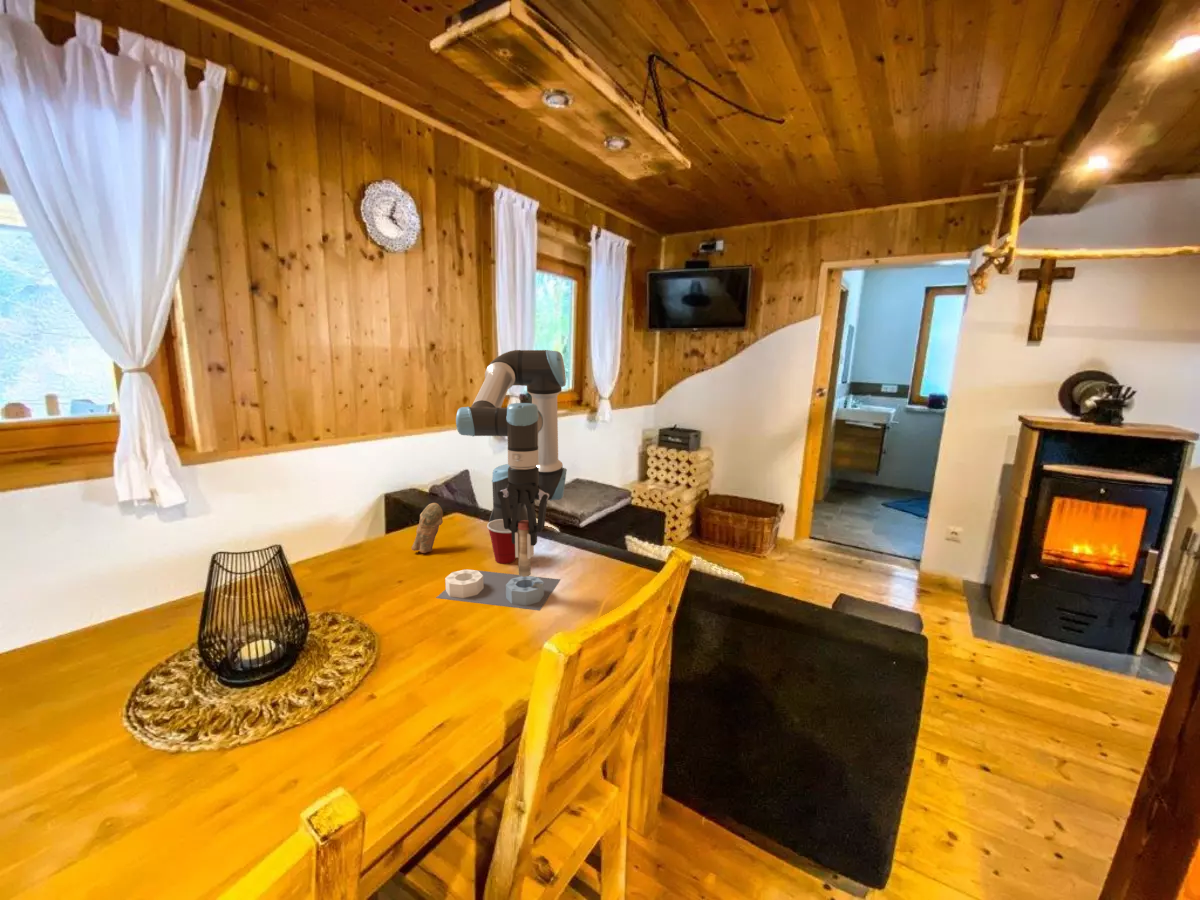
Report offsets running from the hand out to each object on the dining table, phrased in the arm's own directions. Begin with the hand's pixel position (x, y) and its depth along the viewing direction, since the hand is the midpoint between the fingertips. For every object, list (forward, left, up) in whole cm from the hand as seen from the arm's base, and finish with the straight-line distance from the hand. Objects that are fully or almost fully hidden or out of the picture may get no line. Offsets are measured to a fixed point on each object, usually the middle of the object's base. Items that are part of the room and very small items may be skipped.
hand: (524, 555), depth 127 cm
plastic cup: (-21, -14, -12) cm, 28 cm away
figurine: (-23, -41, -12) cm, 48 cm away
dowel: (0, 0, -5) cm, 5 cm away
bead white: (0, -17, -11) cm, 20 cm away
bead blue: (0, 0, -11) cm, 11 cm away
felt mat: (-3, -8, -12) cm, 14 cm away
